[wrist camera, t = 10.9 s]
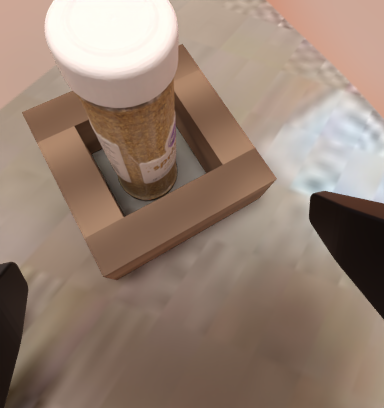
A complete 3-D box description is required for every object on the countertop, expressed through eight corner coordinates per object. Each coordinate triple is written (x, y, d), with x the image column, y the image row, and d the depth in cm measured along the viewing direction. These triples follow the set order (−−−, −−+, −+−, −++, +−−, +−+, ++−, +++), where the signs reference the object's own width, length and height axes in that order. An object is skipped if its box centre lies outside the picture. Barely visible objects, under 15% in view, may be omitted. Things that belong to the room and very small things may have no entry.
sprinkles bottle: (179, 198, 22) (184, 70, 9) (118, 203, 22) (35, 77, 9) (174, 144, 24) (173, -35, 11) (116, 148, 23) (42, -33, 10)
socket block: (259, 197, 23) (276, 178, 19) (117, 279, 20) (103, 276, 16) (181, 81, 25) (182, 43, 21) (47, 142, 23) (21, 112, 19)
